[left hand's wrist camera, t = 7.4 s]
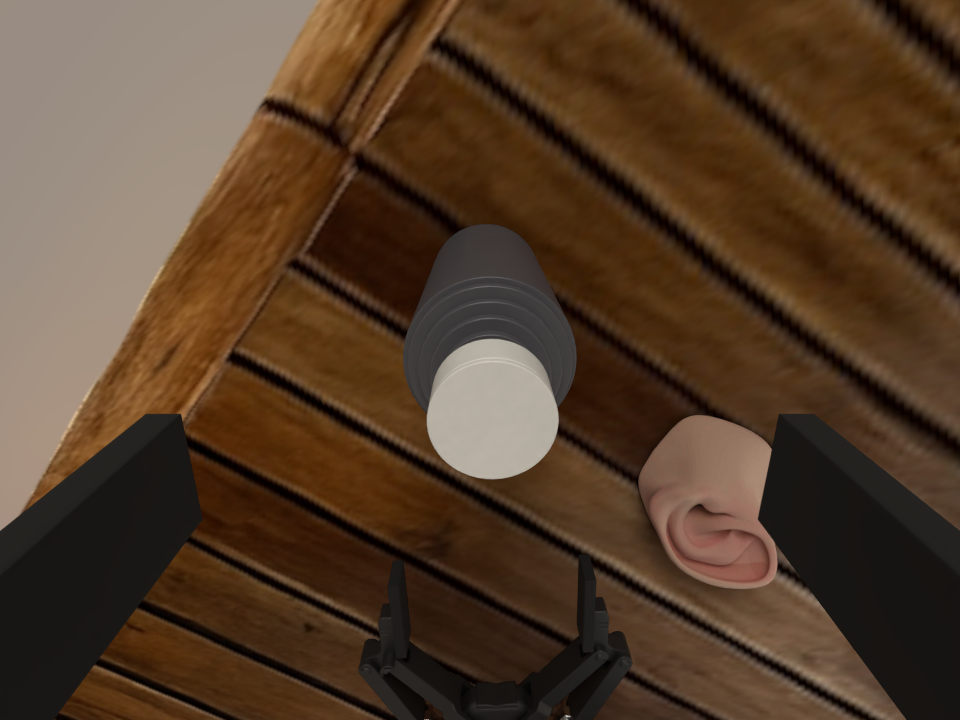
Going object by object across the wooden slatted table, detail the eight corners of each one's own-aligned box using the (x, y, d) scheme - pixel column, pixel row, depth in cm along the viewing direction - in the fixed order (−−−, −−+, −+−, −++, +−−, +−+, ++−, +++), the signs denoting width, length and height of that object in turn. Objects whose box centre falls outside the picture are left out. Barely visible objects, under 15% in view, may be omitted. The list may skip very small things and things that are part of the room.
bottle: (418, 308, 40) (356, 472, 20) (453, 207, 38) (424, 278, 18) (515, 342, 41) (549, 533, 21) (555, 246, 39) (639, 357, 18)
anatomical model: (670, 435, 39) (832, 449, 40) (653, 410, 43) (802, 423, 43) (633, 587, 44) (779, 599, 44) (620, 553, 48) (755, 564, 48)
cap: (416, 425, 21) (409, 456, 19) (455, 321, 20) (452, 342, 18) (523, 460, 22) (528, 495, 20) (569, 361, 21) (580, 387, 18)
